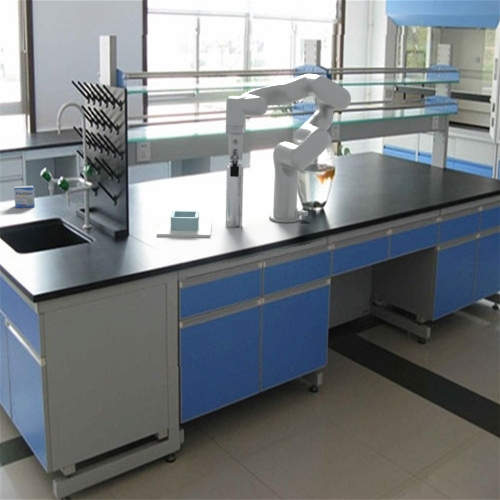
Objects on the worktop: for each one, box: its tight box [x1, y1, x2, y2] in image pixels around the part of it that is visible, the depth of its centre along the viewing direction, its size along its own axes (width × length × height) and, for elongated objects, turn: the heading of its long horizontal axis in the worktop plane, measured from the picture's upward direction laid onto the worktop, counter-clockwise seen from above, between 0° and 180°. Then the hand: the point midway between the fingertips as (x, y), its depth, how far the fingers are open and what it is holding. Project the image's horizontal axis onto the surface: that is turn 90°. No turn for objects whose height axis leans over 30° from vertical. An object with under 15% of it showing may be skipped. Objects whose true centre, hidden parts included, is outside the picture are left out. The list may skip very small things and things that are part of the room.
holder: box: [156, 210, 212, 238], centre depth 279 cm, size 20×20×6 cm
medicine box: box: [13, 185, 36, 209], centre depth 304 cm, size 8×4×9 cm, turn 105°
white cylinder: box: [225, 162, 244, 229], centre depth 282 cm, size 6×6×25 cm
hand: (234, 173), depth 279 cm, fingers open, 9 cm apart
